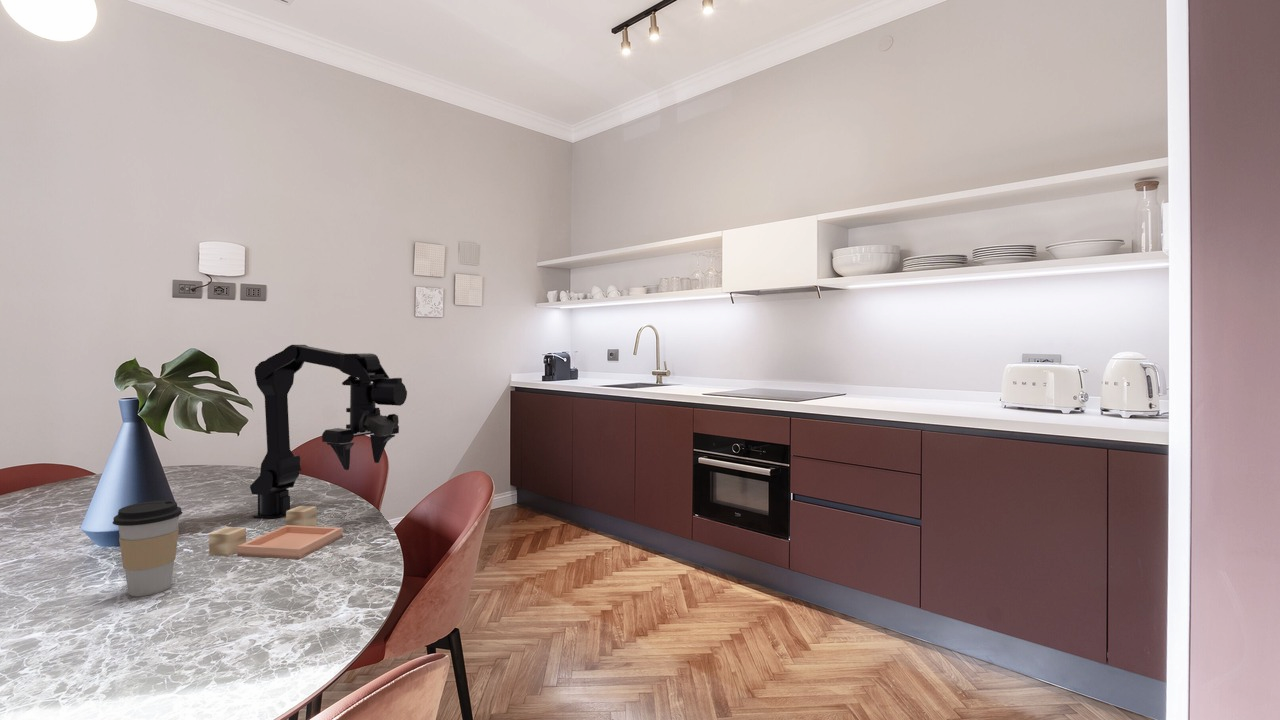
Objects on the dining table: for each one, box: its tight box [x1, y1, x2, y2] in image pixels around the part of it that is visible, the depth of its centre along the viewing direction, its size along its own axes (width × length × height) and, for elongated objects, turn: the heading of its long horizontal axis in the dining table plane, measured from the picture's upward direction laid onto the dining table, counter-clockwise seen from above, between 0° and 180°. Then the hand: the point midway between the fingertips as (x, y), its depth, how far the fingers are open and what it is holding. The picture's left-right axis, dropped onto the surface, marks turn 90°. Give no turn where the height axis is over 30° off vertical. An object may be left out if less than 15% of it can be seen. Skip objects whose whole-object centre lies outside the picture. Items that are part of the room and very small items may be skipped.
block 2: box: [285, 505, 318, 526], centre depth 138 cm, size 4×4×4 cm
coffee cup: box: [112, 500, 183, 597], centre depth 102 cm, size 9×9×15 cm
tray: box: [236, 525, 344, 560], centre depth 125 cm, size 14×14×2 cm
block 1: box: [208, 526, 247, 557], centre depth 121 cm, size 4×4×4 cm
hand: (362, 466), depth 142 cm, fingers open, 9 cm apart
